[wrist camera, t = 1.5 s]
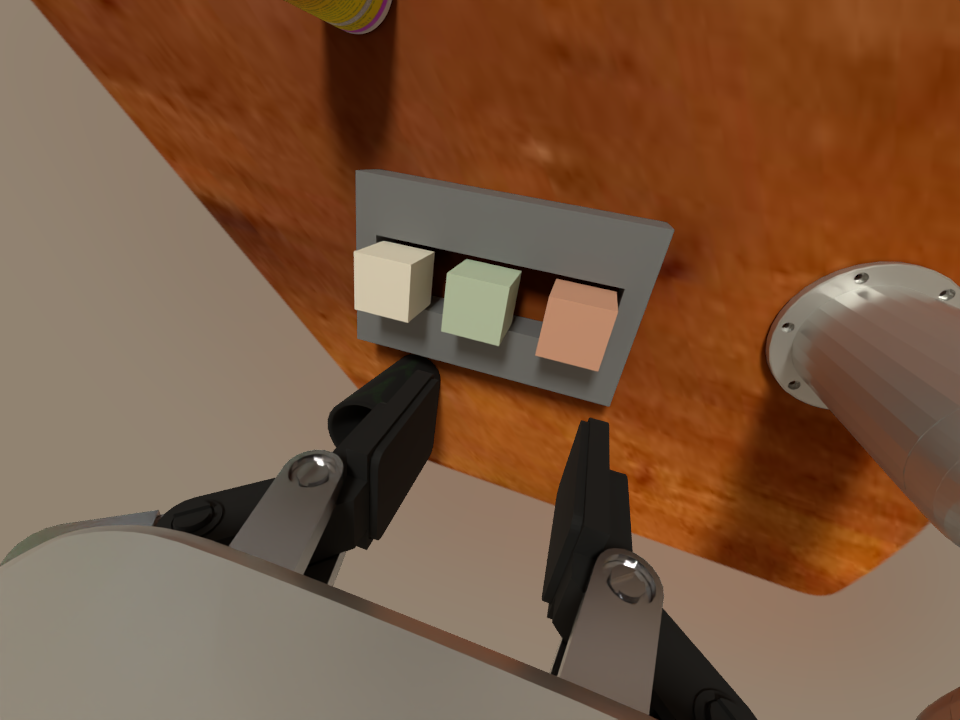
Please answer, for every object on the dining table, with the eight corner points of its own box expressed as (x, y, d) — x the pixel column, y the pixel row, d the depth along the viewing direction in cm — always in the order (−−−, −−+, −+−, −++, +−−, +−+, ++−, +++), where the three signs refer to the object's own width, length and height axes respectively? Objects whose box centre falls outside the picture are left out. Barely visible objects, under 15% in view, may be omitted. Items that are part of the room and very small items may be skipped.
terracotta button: (616, 291, 32) (618, 311, 28) (599, 345, 35) (598, 371, 31) (556, 278, 33) (549, 296, 29) (543, 331, 36) (534, 355, 31)
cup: (420, 334, 44) (363, 388, 33) (461, 387, 45) (419, 454, 35) (376, 364, 47) (311, 421, 37) (415, 412, 49) (364, 480, 38)
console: (667, 222, 32) (674, 230, 29) (608, 385, 40) (609, 406, 37) (378, 169, 37) (355, 170, 33) (376, 324, 45) (357, 338, 41)
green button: (522, 270, 34) (509, 287, 30) (511, 324, 36) (498, 346, 32) (466, 258, 35) (446, 272, 30) (460, 311, 37) (441, 331, 33)
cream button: (434, 251, 35) (411, 264, 31) (430, 304, 38) (407, 322, 33) (383, 240, 36) (353, 251, 32) (382, 292, 39) (354, 309, 34)
